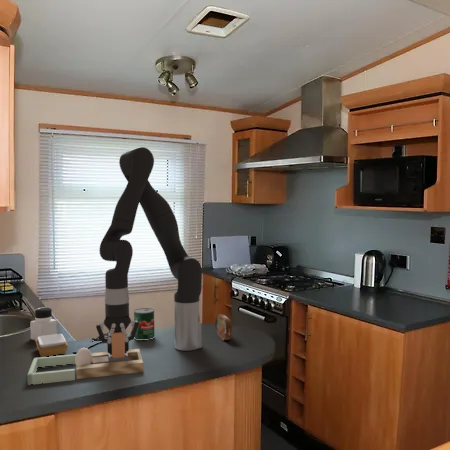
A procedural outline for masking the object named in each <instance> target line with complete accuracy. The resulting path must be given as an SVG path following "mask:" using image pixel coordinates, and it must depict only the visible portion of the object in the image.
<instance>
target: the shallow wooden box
mask: <svg viewBox="0 0 450 450" xmlns="http://www.w3.org/2000/svg"><path fill="white" fill-rule="evenodd" d="M91 354H92V358H96V357H105V356H108V359H109V355H108V354H110V353H108V351H103V352H102V351H101V352H91ZM127 354H128V361H122V362H112V363H102V364H91V365H82V366H76V369H75V373H76V380H80V379H81V380H83V379H89V378H90V379H91V378H100V377H108V376H118V375H129V374H136V373H144V361H143V357H142V354H141V350H140V348H134V349H132V348H131V349H129V350H128V351H127Z"/></svg>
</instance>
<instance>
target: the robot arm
mask: <svg viewBox="0 0 450 450" xmlns="http://www.w3.org/2000/svg"><path fill="white" fill-rule="evenodd" d="M118 164H119V167H120V171H121V173H122V175H123V177H124V178H125V179H126V181H127V184H126V187H125V188H124V190H123V191H122V194H121V195H120V196H119V199H118V201H117V203H116V205H115V208H114V212H113V216H112V220H111V223H110V226H109V227H108V229H107V231H106V232H105V234H104V237H103V238H102V240H101V242H100V244H99V250H98V251H99V255H100V257H101V259H102V260H104V261H107V262H116V263H115V266H114V268H109V269H107V270H106V272H105V275H104V276H105V278H104V279H105V289H104V291H105V292H104V311H105V312H104V313H105V315H104V316H105V318H104V320H103V322H100V323H98V322H97V323H96V325H95V328H96V330H97V333H98V337H99V336H100V338H99V340H101V341H102V342H103V343H106V344H107V346H106V347H107V352H108V353H110V355H112V342H111V341H112V333H115V332H124V333H125V353H127V351H128V350H130V346H129V343H130V341H134V340H135V339H134V337H135V334H136V331H137V328H138V325H139V323H138V321H137V320H135V321H134V319H131V317H130V292H129V276H128V275H129V270H130V268H131V261H132V260H133V259H132V258H133V255H134V254H133V253H134V250H133V246H132V244H131V243H130V241H129V240H127V239H121V238H122V237H124V236H127V235H130V234H131V233H132V231H133V229H134V224H135V220H136V217H137V216H136V215H137V211H138V208H139V205H140V207H141V208H142V211H143V212H144V214H145V217H146V219H147V221H148V224H149V226H150V228H151V230H152V231H153V234H154V235H155V236H154V237H156V239H157V241H158V243H159V245H160V247H161V249H162V251H163V252H164V255H165V258H166V261H167V264H168V267H169V270H170V272H171V274H172V276H173V277H174V279H176V280H177V290H176V292H174V293H173V296H174V297H173V301H174V302H173V303H174V305H173V308H174V311H173V313H174V348H175V349H176V350H178V351H189V352H190V351H195V350H198V349H202V321H201V320H200V316H201V315H200V314H201V313H200V309H201V308H200V305H201V304H200V300H201V299H200V297H201V294H202V288H203V287H202V285H203V282H202V280H203V272H202V271H203V268H202V265H201V262H199V260H198V259H196V258H193V257H190V256H189V254H188V253H187V251H186V250H185V248H184V246H183V244H182V241H181V239H180V232H179V225H178V221H177V217H176V216H175V213H174V212H173V209H172V207H171V205H170V204H169V202H168V201H167V200H166V199H165V197H163V196H162V195H161V194H160V193H159V192H158V191H157V190H156V189H155V188H154V187H153V186H152V185H151V182H150V181H149V178H150V175H151V173H152V171H153V168H154V164H155V158H154V155H153V153H152V152H151V150H150V149H148V148H147V147H143V146H139V147H136V148H132V149H130V150H128V151H125V152H123V154H121V155H120V156H119V162H118ZM130 325H131V331H130V334H129V335H128V333H127V328H128V327H129V326H130ZM104 326H105V328H107V330H108V333H109V334H108V336H105V335H104V334H105V333H104V331H103V330H104ZM106 337H108V338H106Z"/></svg>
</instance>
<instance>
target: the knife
mask: <svg viewBox="0 0 450 450" xmlns="http://www.w3.org/2000/svg"><path fill="white" fill-rule="evenodd" d="M103 334H104V336H105V337H106V338H108V334H109V332H107V333H103ZM92 340H94V341H97V340H98V341H101V339H100V336H99V335H98V336H97V337H96V338H94V337H92V338H91V341H92Z"/></svg>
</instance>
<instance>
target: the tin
mask: <svg viewBox="0 0 450 450" xmlns="http://www.w3.org/2000/svg"><path fill="white" fill-rule="evenodd" d="M214 324H215V326H214V327H215V332H216V335H217V337H219V339H221V340H222V341H230V340H231V338H232V334H233V333H232V331H233V330H232V329H233V324H232V320H231V319H230V318H229V317H228V316H226V315H225V314H221V313H220V314H219V313H218V314H216V317H215V323H214Z"/></svg>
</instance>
